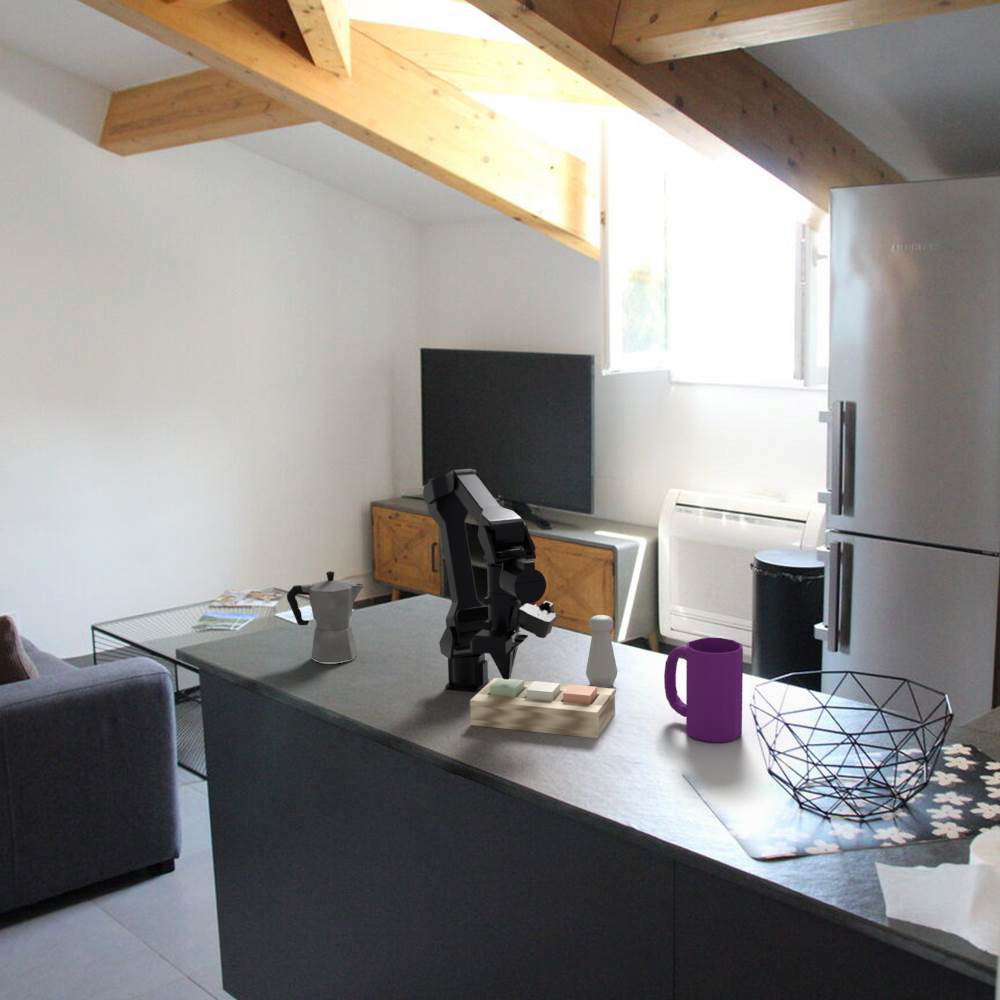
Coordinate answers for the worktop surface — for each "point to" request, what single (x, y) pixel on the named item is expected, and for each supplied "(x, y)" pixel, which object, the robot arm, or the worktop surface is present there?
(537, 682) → the middle key
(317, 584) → the coffeepot
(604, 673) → the salt shaker
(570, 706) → the keypad
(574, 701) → the terracotta key
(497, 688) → the sage key
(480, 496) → the robot arm
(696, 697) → the mug
